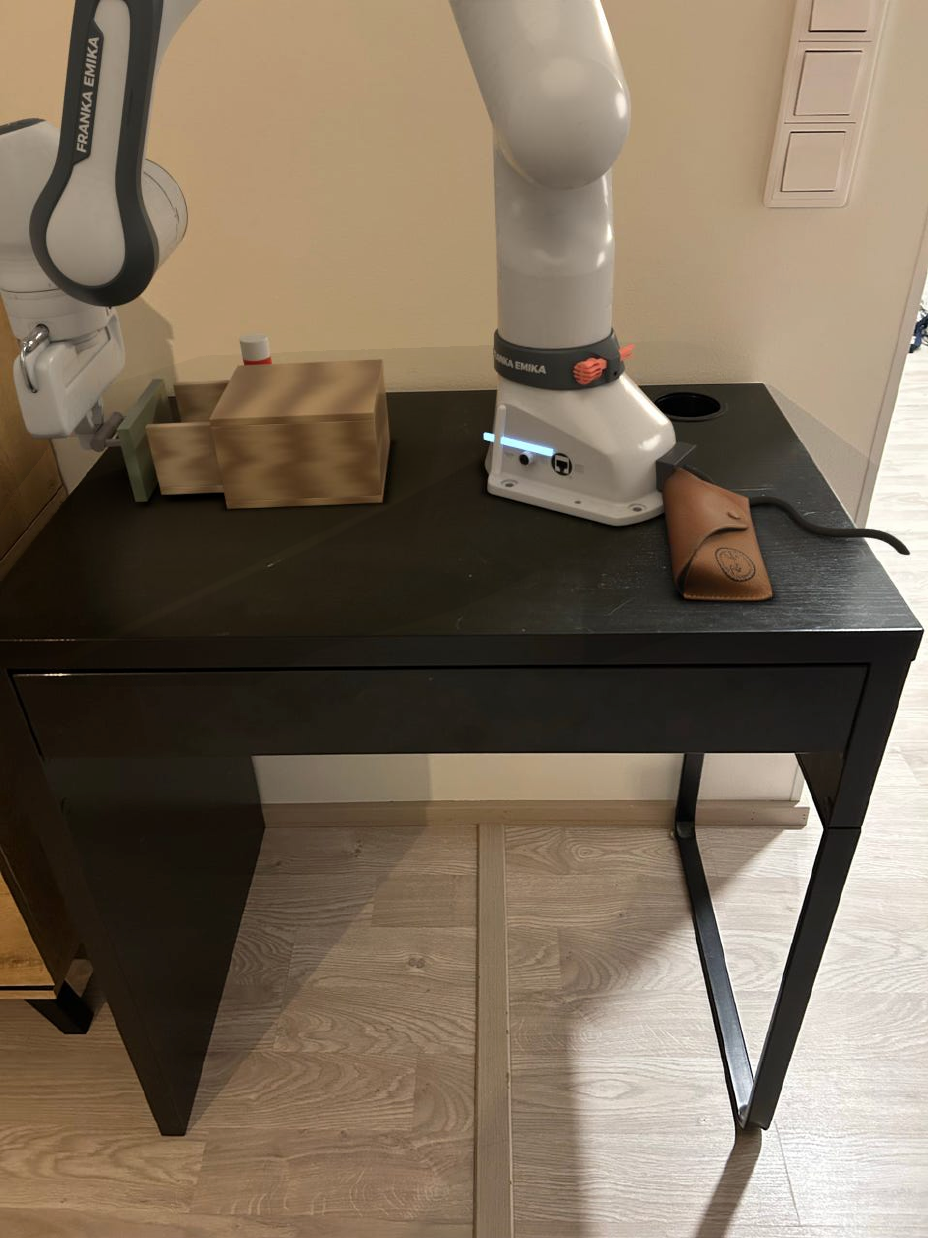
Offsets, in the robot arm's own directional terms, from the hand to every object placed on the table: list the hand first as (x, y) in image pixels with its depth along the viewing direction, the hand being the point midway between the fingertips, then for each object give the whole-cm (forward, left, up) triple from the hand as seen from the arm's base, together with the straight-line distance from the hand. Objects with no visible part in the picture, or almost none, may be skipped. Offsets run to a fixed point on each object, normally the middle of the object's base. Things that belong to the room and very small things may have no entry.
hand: (95, 443), depth 99 cm
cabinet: (-16, -16, -4) cm, 23 cm away
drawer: (-7, -7, -3) cm, 11 cm away
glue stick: (0, -21, -4) cm, 22 cm away
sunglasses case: (-56, -30, -5) cm, 63 cm away
